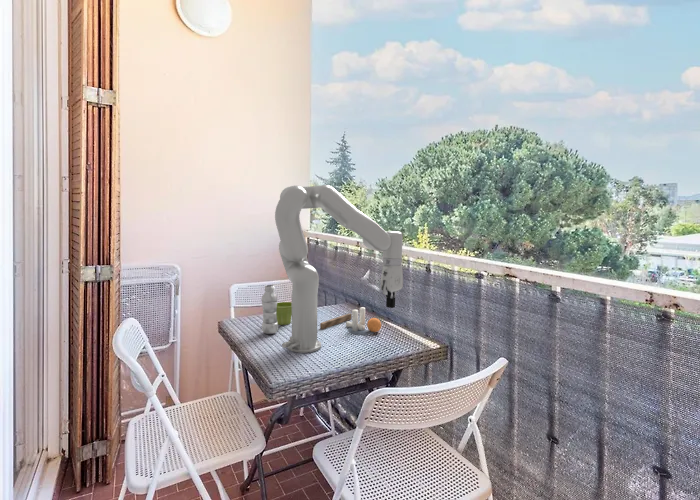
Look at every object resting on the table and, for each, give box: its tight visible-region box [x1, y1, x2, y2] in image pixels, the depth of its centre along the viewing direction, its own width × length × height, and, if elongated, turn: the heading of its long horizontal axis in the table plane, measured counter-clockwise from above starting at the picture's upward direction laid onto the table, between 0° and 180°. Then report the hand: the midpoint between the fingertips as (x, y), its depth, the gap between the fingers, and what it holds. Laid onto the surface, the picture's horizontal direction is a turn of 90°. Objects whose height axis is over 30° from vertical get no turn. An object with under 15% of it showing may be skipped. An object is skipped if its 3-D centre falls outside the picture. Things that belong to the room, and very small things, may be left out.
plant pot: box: [276, 301, 292, 326], centre depth 174 cm, size 9×9×9 cm
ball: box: [366, 317, 382, 333], centre depth 164 cm, size 6×6×6 cm
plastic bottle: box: [261, 284, 279, 335], centre depth 159 cm, size 6×7×20 cm
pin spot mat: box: [347, 327, 376, 336], centre depth 166 cm, size 12×12×1 cm
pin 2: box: [359, 306, 366, 326], centre depth 169 cm, size 2×2×9 cm
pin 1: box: [351, 309, 359, 331], centre depth 164 cm, size 2×2×9 cm
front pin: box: [345, 320, 366, 331], centre depth 168 cm, size 2×2×9 cm
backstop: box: [319, 313, 352, 330], centre depth 175 cm, size 20×2×2 cm, turn 142°
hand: (390, 307), depth 156 cm, fingers closed
